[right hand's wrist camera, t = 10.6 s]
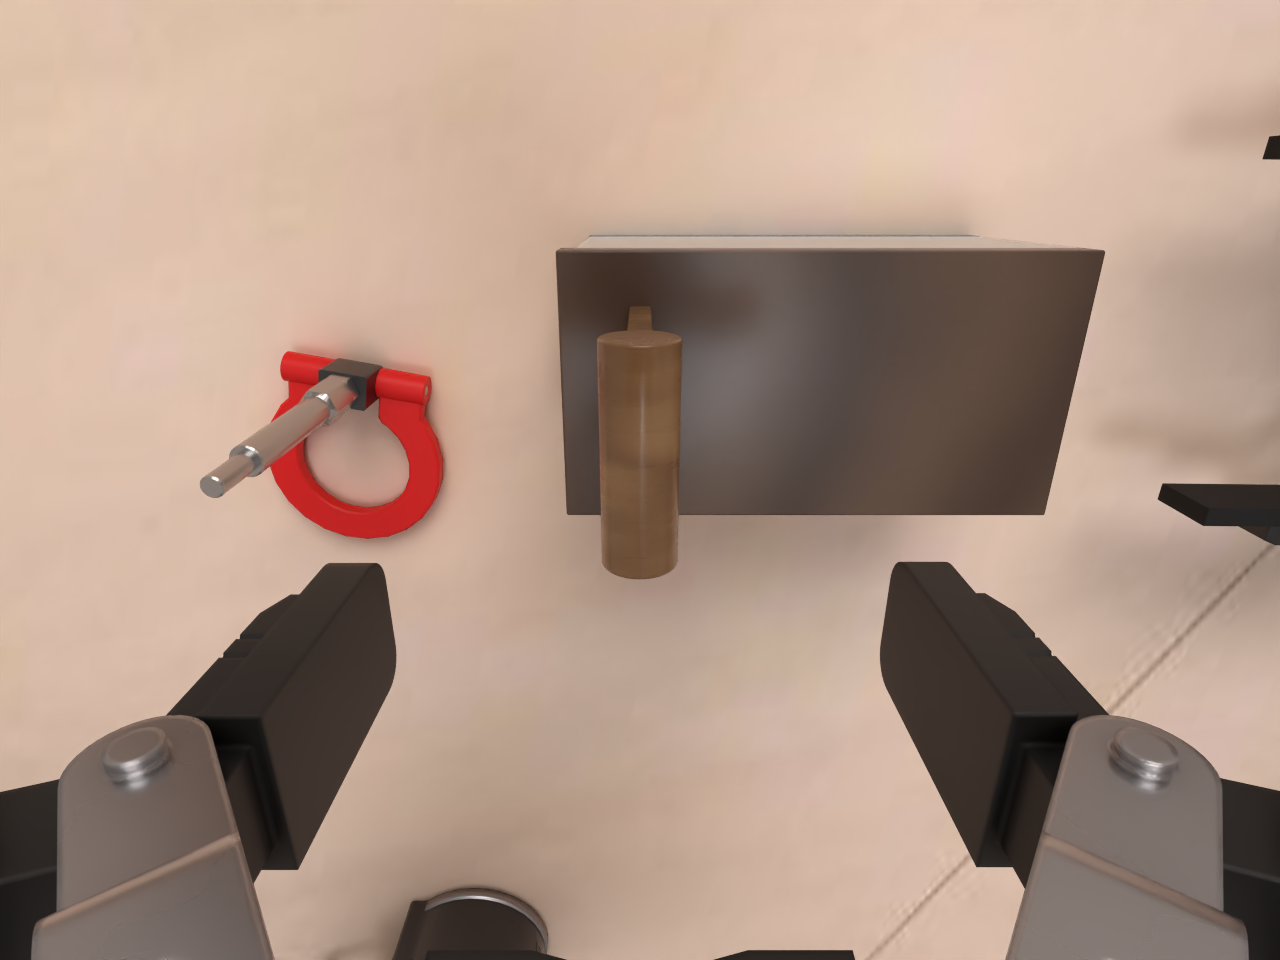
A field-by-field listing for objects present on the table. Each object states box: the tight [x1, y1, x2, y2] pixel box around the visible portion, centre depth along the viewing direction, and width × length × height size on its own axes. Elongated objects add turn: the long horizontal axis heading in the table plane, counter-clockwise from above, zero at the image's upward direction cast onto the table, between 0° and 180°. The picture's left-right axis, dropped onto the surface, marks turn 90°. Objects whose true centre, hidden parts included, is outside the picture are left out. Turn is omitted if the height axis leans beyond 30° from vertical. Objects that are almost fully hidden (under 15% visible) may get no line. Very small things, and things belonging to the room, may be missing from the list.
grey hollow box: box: [575, 235, 1078, 248], centre depth 29 cm, size 17×9×9 cm, turn 90°
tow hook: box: [200, 351, 443, 539], centre depth 30 cm, size 8×13×9 cm
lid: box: [556, 248, 1105, 579], centre depth 21 cm, size 18×9×9 cm, turn 90°
